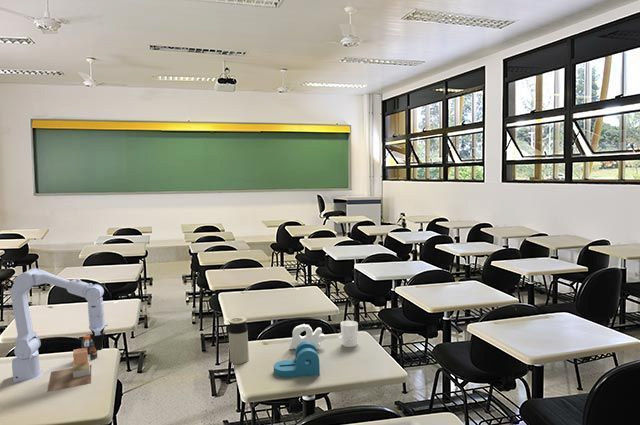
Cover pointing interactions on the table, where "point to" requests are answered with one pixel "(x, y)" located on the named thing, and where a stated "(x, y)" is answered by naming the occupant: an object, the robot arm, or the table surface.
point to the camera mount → (300, 363)
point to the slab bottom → (81, 373)
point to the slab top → (80, 366)
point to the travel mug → (238, 340)
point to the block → (80, 356)
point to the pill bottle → (89, 347)
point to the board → (66, 380)
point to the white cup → (349, 333)
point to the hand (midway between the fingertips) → (98, 347)
